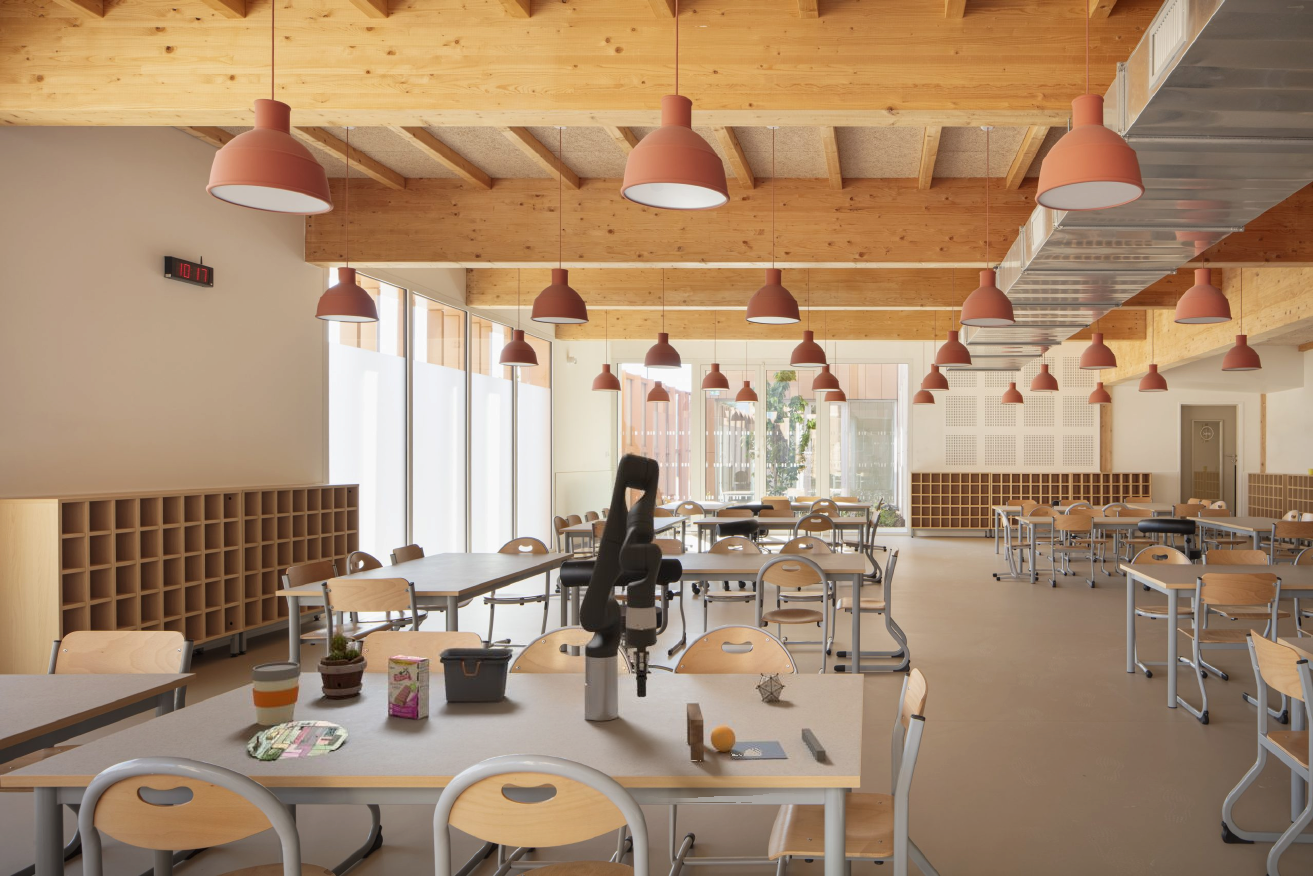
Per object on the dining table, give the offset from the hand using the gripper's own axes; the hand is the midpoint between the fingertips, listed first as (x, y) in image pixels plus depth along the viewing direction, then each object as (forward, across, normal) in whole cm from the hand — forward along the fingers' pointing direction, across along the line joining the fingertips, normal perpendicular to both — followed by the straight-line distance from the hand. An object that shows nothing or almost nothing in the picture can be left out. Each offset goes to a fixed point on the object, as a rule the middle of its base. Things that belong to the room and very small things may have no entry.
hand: (641, 696), depth 210 cm
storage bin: (+14, -53, -50) cm, 74 cm away
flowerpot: (+14, -61, -93) cm, 112 cm away
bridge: (+14, 0, +13) cm, 19 cm away
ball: (+10, 0, +20) cm, 23 cm away
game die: (+14, -47, +39) cm, 63 cm away
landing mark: (+14, 0, +28) cm, 31 cm away
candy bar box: (+14, -36, -66) cm, 76 cm away
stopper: (+14, 0, +42) cm, 44 cm away
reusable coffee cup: (+14, -33, -102) cm, 108 cm away
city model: (+14, -9, -87) cm, 89 cm away
